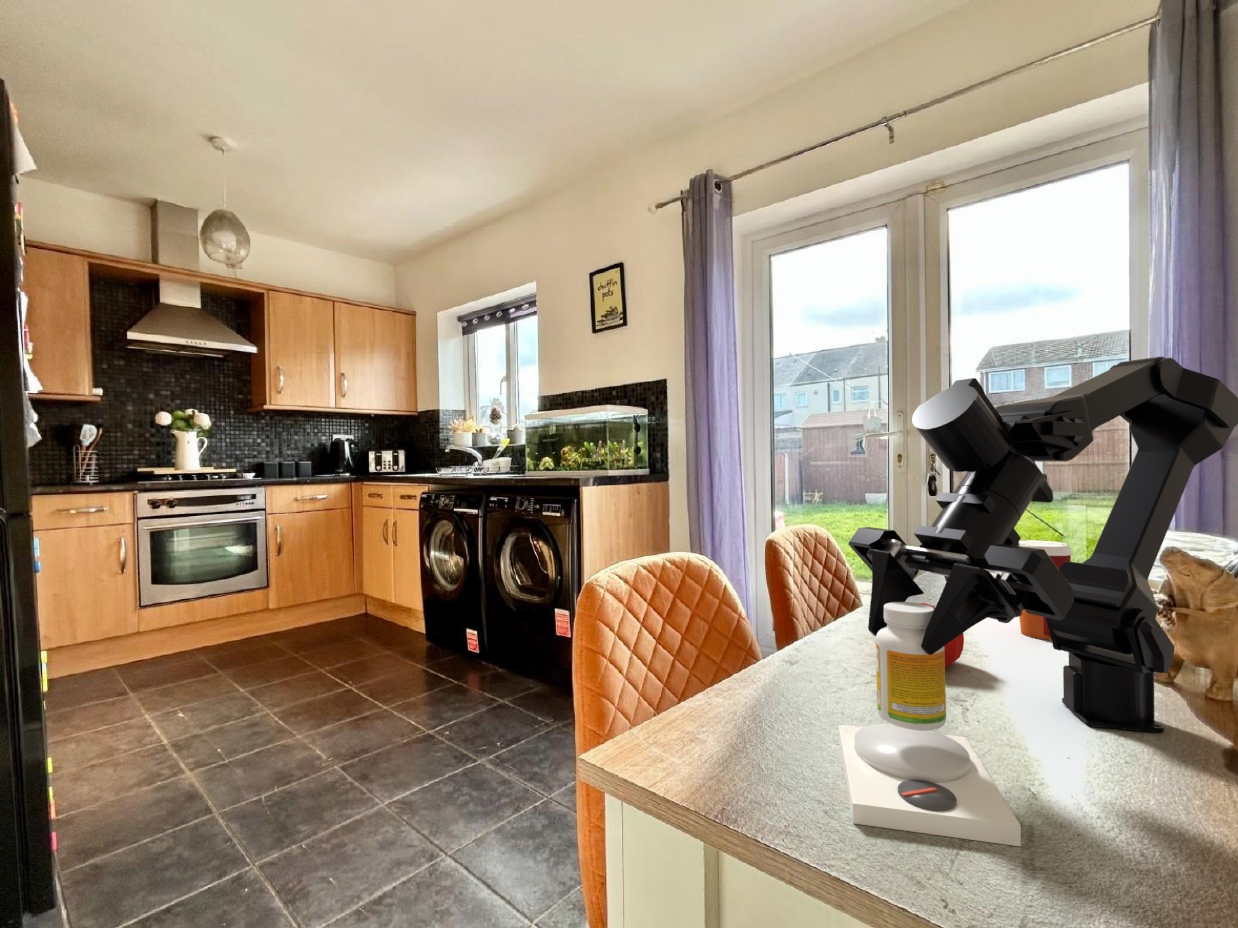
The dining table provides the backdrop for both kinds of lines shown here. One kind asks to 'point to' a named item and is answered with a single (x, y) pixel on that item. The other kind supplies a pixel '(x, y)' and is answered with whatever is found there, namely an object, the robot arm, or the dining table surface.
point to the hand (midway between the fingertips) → (897, 641)
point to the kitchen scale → (922, 784)
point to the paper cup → (1059, 555)
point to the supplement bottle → (909, 670)
